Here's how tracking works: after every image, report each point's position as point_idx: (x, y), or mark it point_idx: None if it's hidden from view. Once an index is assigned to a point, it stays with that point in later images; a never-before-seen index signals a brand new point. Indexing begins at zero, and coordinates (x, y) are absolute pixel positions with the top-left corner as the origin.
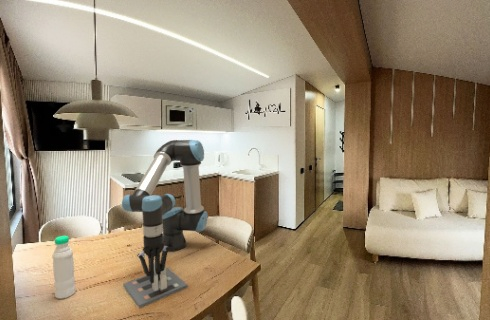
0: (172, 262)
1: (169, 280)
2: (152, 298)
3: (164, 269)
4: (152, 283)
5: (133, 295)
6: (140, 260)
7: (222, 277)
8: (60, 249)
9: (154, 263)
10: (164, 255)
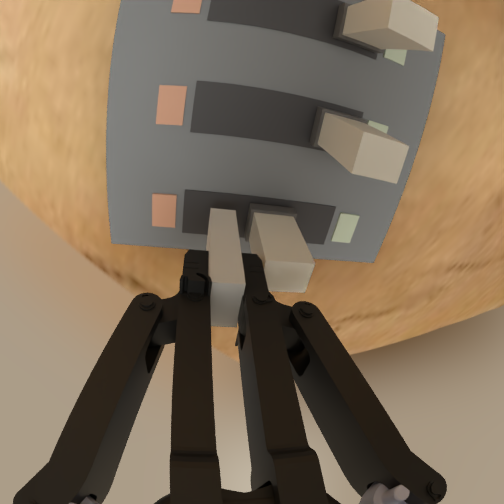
0: (483, 13)
1: None
2: (185, 239)
3: (380, 177)
4: (209, 236)
5: (113, 135)
6: (58, 443)
7: (456, 288)
8: None
9: (396, 23)
10: (340, 464)
